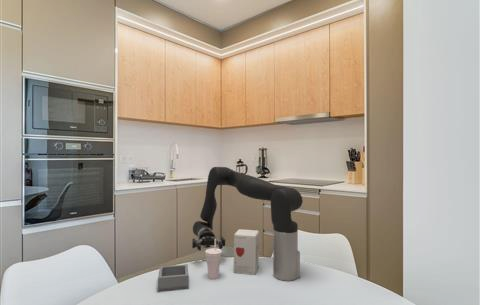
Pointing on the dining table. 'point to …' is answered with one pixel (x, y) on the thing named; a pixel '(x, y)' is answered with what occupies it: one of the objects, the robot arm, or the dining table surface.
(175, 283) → the box
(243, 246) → the supplement box
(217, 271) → the smoothie
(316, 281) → the dining table surface
